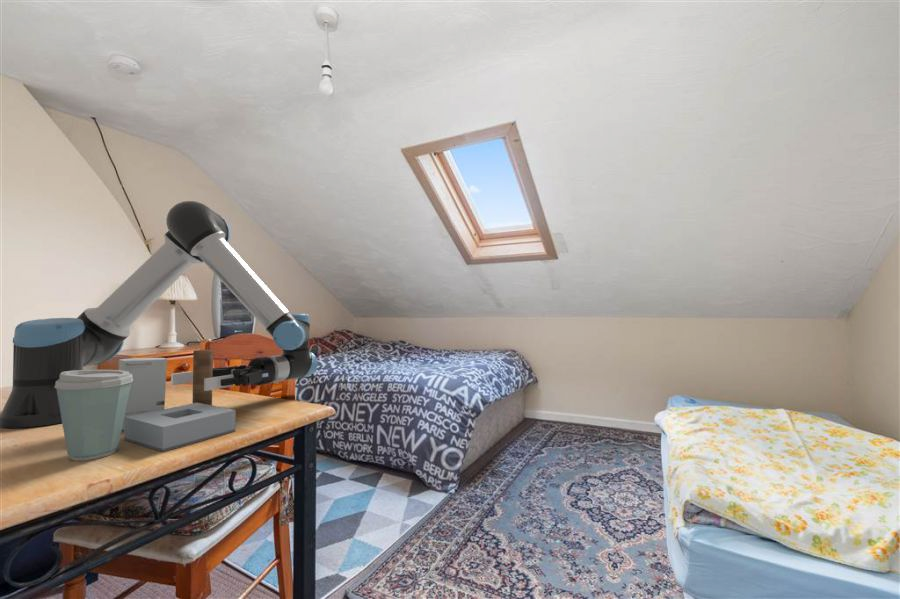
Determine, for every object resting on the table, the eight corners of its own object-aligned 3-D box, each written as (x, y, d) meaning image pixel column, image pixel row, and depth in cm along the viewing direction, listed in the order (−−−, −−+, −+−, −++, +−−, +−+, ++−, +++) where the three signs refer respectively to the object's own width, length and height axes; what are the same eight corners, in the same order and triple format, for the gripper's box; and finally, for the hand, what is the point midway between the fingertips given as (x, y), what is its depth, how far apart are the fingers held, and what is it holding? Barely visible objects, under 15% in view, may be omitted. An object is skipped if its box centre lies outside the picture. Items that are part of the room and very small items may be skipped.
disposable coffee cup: (124, 441, 79) (126, 364, 79) (139, 453, 72) (141, 369, 72) (48, 456, 71) (50, 370, 71) (57, 472, 64) (60, 377, 64)
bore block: (124, 439, 79) (124, 417, 80) (196, 422, 92) (196, 402, 92) (162, 451, 73) (163, 427, 73) (235, 431, 85) (235, 410, 85)
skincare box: (118, 431, 85) (120, 361, 85) (114, 425, 89) (116, 358, 89) (166, 423, 91) (167, 357, 91) (160, 418, 95) (162, 355, 95)
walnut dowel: (188, 418, 95) (189, 350, 95) (205, 414, 99) (206, 349, 99) (198, 420, 93) (199, 351, 94) (215, 416, 97) (216, 350, 97)
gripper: (299, 387, 106) (220, 404, 87) (239, 379, 118) (158, 392, 99) (299, 359, 106) (221, 369, 87) (239, 353, 118) (159, 362, 99)
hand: (187, 382), depth 93 cm, fingers open, 12 cm apart
